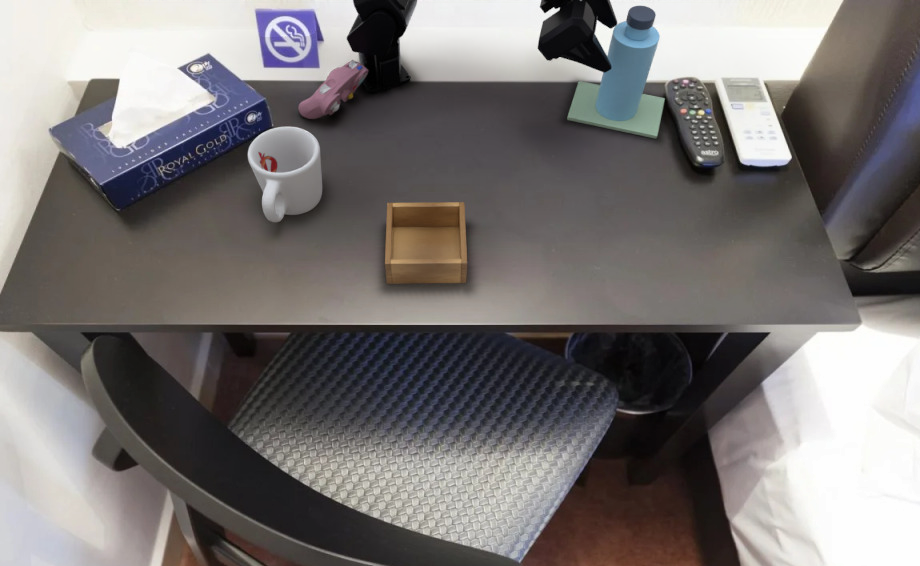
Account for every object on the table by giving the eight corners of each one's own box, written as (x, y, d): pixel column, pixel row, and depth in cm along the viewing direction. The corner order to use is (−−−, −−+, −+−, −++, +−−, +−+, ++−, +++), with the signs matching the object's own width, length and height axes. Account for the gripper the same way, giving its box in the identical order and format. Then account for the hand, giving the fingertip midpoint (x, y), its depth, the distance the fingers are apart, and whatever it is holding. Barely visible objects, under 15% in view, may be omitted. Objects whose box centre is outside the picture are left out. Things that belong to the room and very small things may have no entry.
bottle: (599, 122, 88) (623, 27, 77) (591, 94, 91) (613, 0, 80) (641, 120, 89) (671, 26, 77) (632, 93, 92) (659, -2, 80)
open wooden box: (387, 287, 74) (384, 263, 70) (389, 227, 78) (387, 202, 75) (465, 286, 74) (467, 263, 70) (463, 227, 79) (464, 202, 75)
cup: (310, 247, 77) (297, 199, 70) (244, 236, 77) (226, 187, 71) (337, 181, 82) (328, 130, 76) (276, 171, 83) (261, 120, 76)
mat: (566, 120, 89) (567, 117, 89) (578, 83, 93) (578, 80, 93) (656, 139, 87) (657, 136, 87) (663, 101, 92) (665, 98, 91)
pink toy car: (320, 136, 89) (332, 106, 83) (293, 113, 88) (304, 81, 82) (363, 96, 94) (378, 65, 88) (338, 73, 93) (352, 41, 87)
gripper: (587, -57, 64) (668, 59, 73) (603, -142, 74) (673, -32, 83) (500, 8, 72) (583, 107, 80) (526, -78, 82) (597, 18, 90)
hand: (611, 47), depth 83 cm, fingers open, 9 cm apart
